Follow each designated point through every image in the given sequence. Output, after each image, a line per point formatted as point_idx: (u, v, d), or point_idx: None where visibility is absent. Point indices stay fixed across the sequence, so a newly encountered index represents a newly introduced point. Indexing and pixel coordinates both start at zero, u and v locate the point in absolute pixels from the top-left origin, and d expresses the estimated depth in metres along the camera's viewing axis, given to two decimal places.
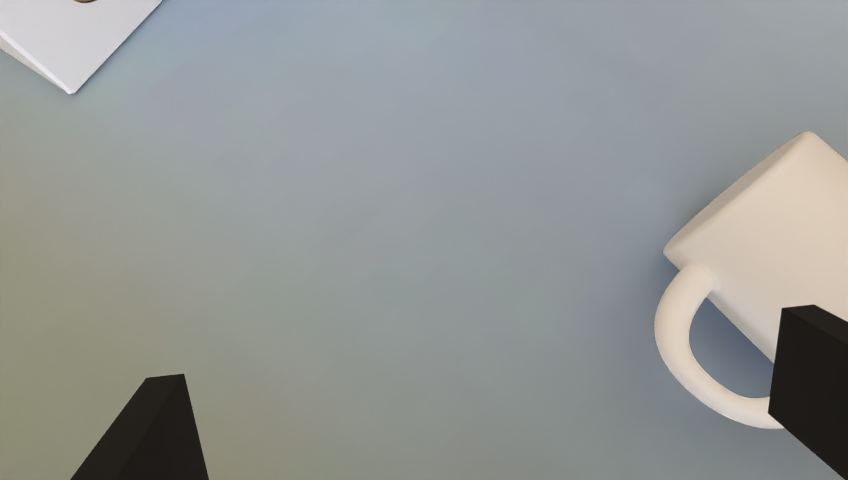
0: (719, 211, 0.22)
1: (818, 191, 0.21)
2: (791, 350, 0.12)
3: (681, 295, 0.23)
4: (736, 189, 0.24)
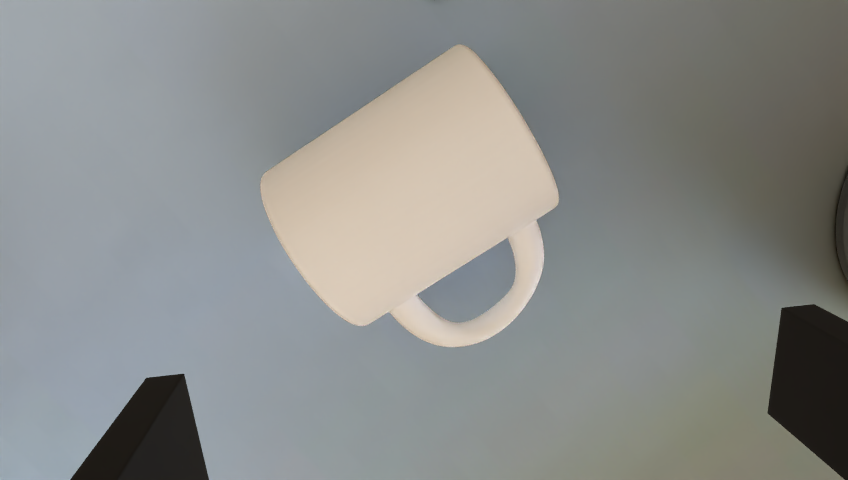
0: (349, 322, 0.22)
1: (347, 259, 0.20)
2: (791, 350, 0.12)
3: (417, 330, 0.25)
4: None
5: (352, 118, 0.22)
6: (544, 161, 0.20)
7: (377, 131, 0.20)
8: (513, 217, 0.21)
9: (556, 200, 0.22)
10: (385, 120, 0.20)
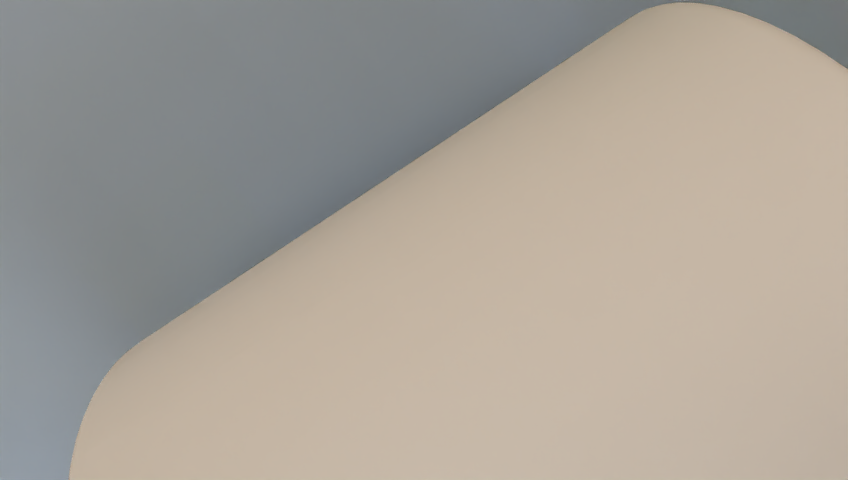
0: None
1: None
2: None
3: None
4: None
5: (351, 229, 0.07)
6: None
7: (437, 300, 0.06)
8: None
9: None
10: (464, 260, 0.06)
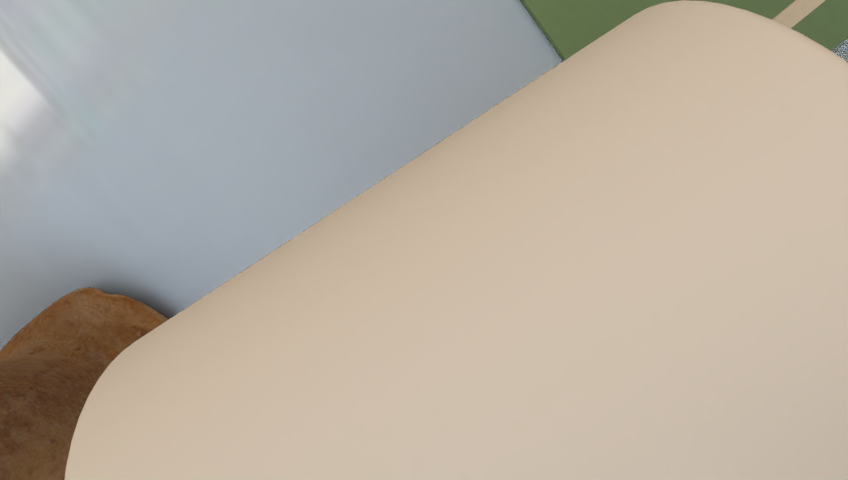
0: None
1: None
2: None
3: None
4: None
5: (353, 227, 0.07)
6: None
7: (442, 299, 0.06)
8: None
9: None
10: (469, 258, 0.06)
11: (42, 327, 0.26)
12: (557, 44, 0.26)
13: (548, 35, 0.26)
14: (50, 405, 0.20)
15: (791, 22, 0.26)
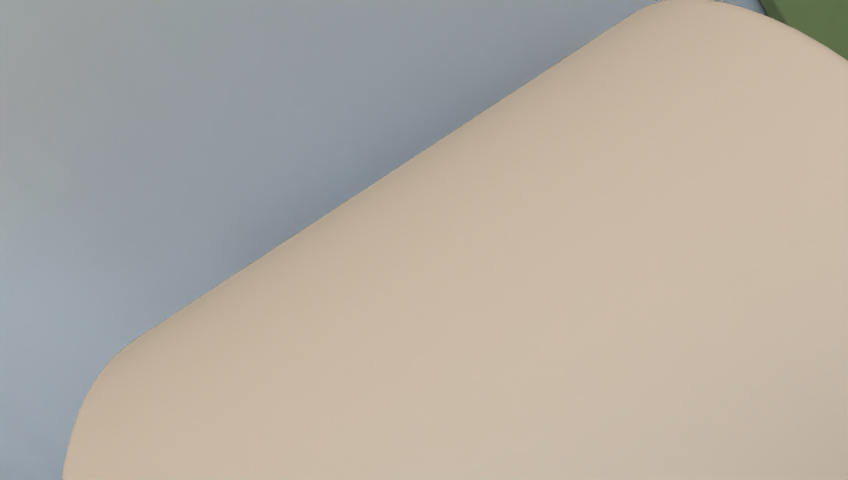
0: None
1: None
2: None
3: None
4: None
5: (351, 226, 0.07)
6: None
7: (440, 297, 0.06)
8: None
9: None
10: (467, 256, 0.06)
11: None
12: None
13: None
14: None
15: None
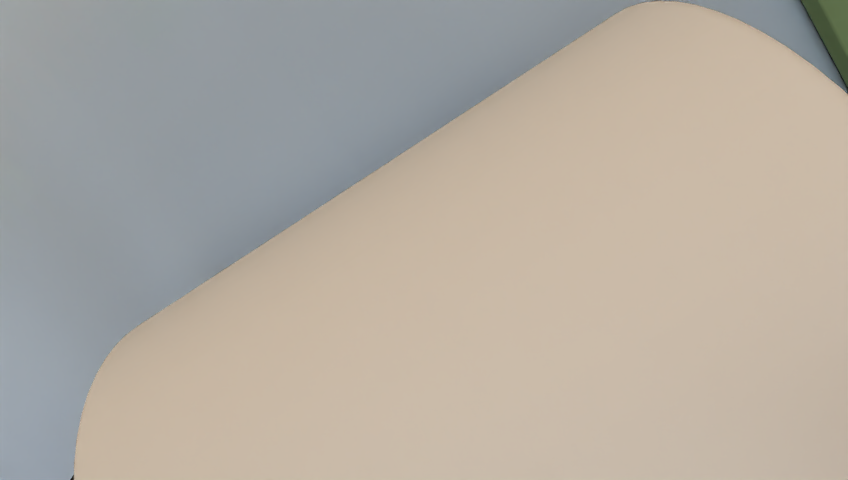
0: None
1: None
2: None
3: None
4: None
5: (348, 213, 0.07)
6: None
7: (431, 278, 0.06)
8: None
9: None
10: (457, 240, 0.06)
11: None
12: None
13: None
14: None
15: None
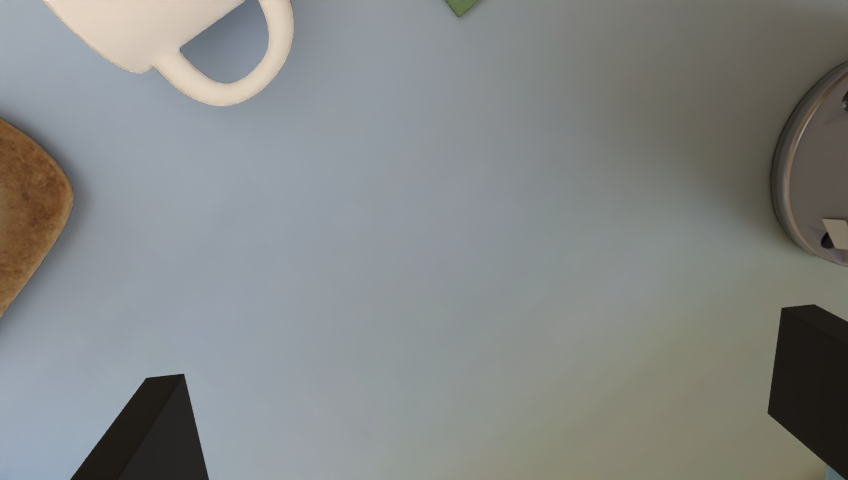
0: (98, 53, 0.25)
1: None
2: (791, 350, 0.12)
3: (180, 83, 0.28)
4: None
5: None
6: None
7: None
8: None
9: None
10: None
11: None
12: None
13: None
14: None
15: None
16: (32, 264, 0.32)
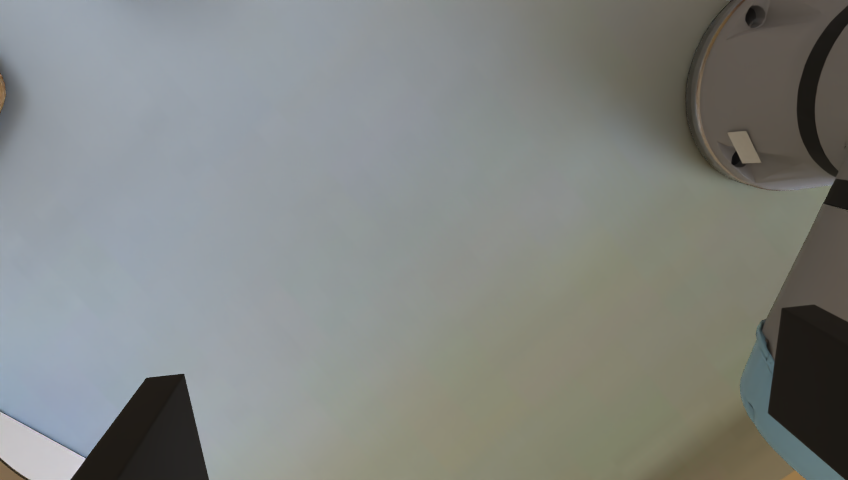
0: None
1: None
2: (791, 350, 0.12)
3: None
4: None
5: None
6: None
7: None
8: None
9: None
10: None
11: None
12: None
13: None
14: None
15: None
16: None
